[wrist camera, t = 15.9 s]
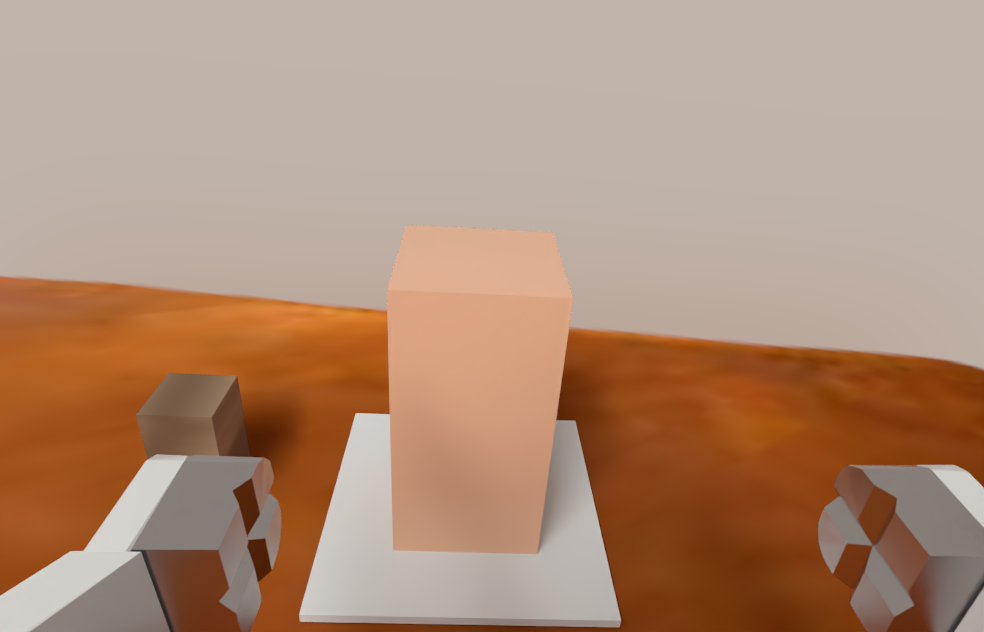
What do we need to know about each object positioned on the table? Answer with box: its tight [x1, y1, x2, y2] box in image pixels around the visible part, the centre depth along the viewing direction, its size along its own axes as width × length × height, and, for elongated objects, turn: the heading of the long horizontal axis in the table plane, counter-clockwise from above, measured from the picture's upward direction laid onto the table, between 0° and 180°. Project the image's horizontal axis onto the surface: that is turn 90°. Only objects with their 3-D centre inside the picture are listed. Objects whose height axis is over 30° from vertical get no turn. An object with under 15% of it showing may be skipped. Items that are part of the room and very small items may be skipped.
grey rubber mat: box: [299, 413, 621, 627], centre depth 28 cm, size 12×12×1 cm
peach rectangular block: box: [387, 225, 573, 554], centre depth 25 cm, size 6×6×12 cm
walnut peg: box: [136, 373, 251, 459], centre depth 27 cm, size 3×3×5 cm
